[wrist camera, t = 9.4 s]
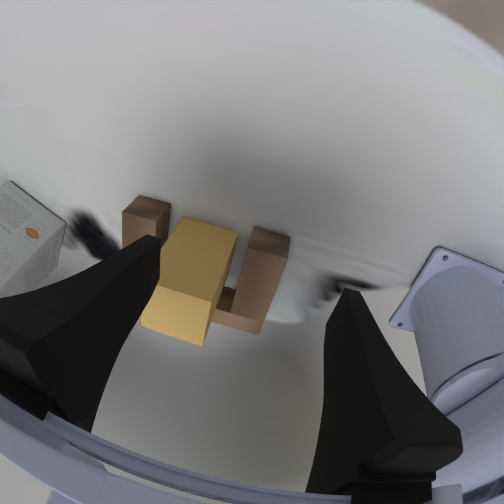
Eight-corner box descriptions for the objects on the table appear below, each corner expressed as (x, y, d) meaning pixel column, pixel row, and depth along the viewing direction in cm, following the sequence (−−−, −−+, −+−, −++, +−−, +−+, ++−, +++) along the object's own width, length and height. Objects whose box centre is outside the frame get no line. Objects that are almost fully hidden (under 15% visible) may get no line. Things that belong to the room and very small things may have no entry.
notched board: (290, 237, 22) (287, 258, 20) (263, 311, 26) (258, 334, 24) (138, 195, 22) (122, 211, 20) (137, 273, 26) (124, 292, 24)
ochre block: (238, 232, 22) (211, 302, 16) (227, 275, 24) (202, 346, 19) (183, 216, 22) (140, 279, 16) (178, 260, 24) (141, 325, 19)
